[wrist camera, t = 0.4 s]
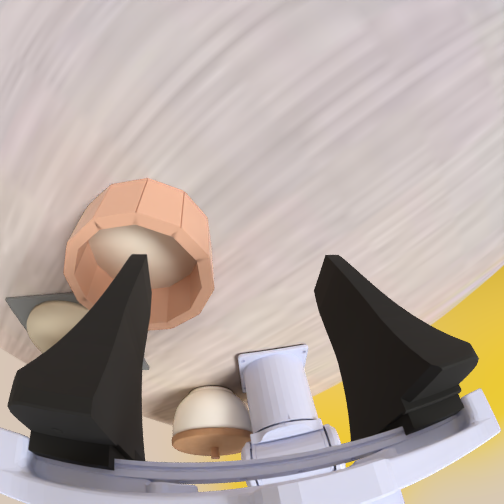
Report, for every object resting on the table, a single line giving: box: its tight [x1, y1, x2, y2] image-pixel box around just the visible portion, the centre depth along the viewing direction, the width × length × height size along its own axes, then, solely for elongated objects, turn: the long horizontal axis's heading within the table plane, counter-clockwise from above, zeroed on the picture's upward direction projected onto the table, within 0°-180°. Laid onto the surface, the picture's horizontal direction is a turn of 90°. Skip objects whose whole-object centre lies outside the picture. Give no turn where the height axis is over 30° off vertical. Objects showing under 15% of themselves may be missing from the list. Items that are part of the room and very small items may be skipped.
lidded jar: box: [172, 386, 253, 459], centre depth 35 cm, size 11×11×9 cm
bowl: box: [64, 178, 214, 330], centre depth 20 cm, size 10×10×4 cm
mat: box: [5, 293, 149, 370], centre depth 28 cm, size 13×13×1 cm
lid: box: [27, 300, 89, 353], centre depth 26 cm, size 12×12×4 cm
